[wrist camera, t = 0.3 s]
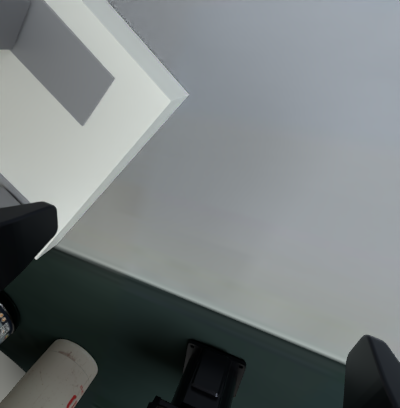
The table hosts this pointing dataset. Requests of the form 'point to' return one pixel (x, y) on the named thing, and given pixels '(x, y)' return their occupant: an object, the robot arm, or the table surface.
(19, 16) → the on handle
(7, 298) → the supplement container
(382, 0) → the table surface
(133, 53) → the box
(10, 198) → the orange-capped grey pillar
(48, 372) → the thermos bottle
